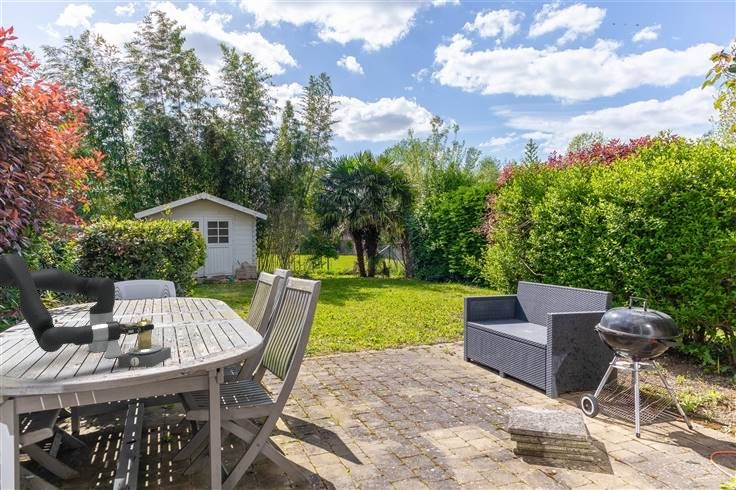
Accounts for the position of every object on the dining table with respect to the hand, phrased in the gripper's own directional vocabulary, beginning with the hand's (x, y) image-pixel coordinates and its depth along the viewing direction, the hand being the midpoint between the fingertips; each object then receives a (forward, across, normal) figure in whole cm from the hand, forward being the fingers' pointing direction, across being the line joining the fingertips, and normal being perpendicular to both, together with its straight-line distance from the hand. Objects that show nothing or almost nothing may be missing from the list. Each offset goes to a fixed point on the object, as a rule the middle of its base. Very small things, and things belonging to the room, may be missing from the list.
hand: (150, 325), depth 178 cm
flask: (-9, +20, +15) cm, 26 cm away
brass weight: (-3, 0, +9) cm, 9 cm away
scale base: (-2, 0, +14) cm, 15 cm away
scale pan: (-2, 0, +10) cm, 10 cm away
